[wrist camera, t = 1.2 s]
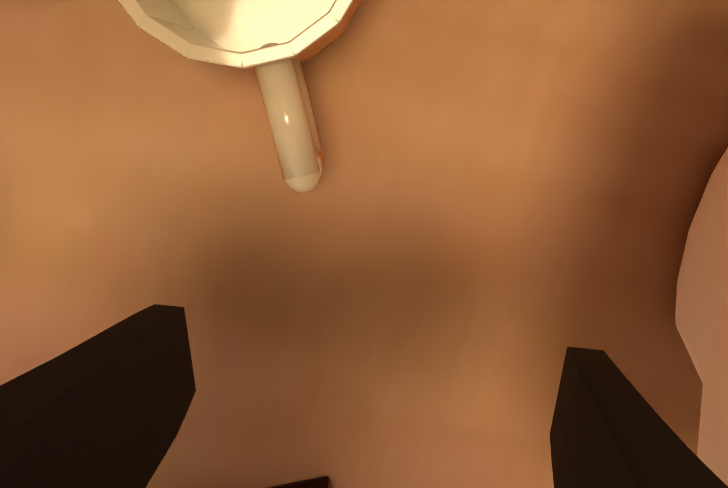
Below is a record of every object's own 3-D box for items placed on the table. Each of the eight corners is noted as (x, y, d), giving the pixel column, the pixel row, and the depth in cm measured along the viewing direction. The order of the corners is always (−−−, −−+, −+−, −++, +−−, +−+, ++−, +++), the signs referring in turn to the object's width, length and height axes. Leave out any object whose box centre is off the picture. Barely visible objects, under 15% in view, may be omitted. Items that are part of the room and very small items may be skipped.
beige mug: (122, -139, 19) (37, -220, 14) (341, -193, 19) (340, -296, 14) (218, 190, 22) (178, 227, 17) (409, 147, 22) (430, 171, 17)
